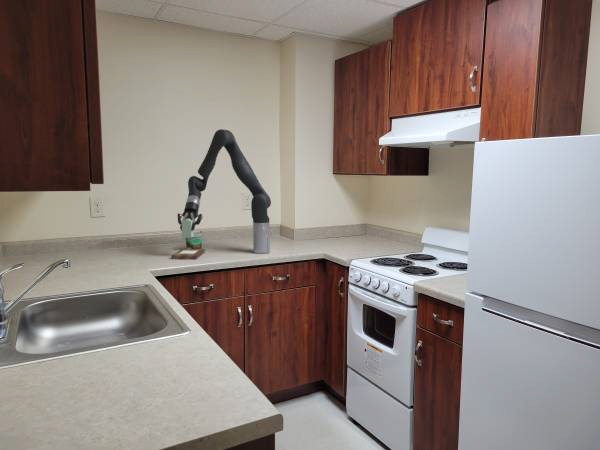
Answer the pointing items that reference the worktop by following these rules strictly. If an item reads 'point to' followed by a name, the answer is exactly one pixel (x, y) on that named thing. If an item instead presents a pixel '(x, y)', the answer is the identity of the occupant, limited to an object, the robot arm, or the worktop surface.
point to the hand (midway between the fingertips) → (186, 229)
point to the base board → (188, 254)
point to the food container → (194, 241)
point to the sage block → (187, 228)
